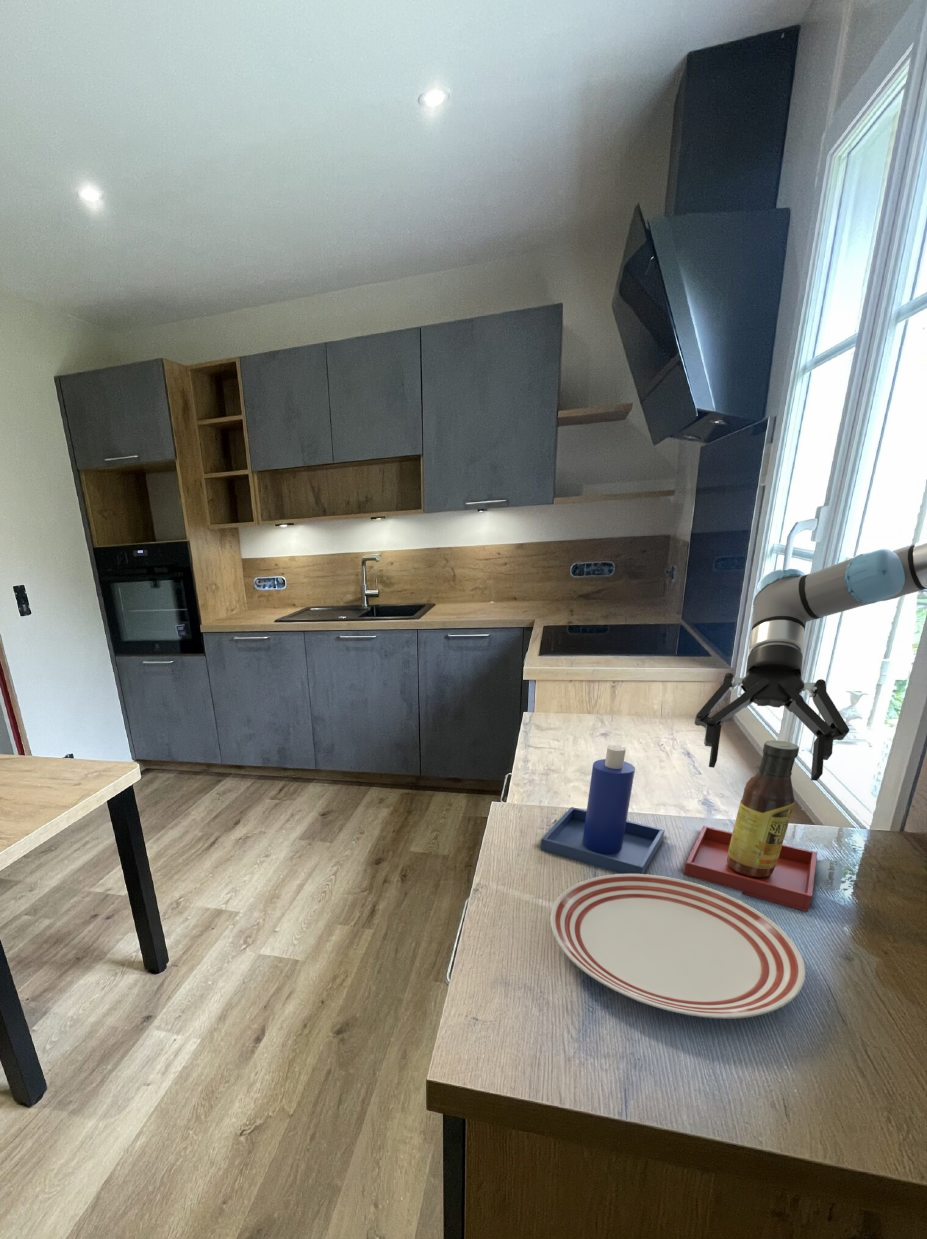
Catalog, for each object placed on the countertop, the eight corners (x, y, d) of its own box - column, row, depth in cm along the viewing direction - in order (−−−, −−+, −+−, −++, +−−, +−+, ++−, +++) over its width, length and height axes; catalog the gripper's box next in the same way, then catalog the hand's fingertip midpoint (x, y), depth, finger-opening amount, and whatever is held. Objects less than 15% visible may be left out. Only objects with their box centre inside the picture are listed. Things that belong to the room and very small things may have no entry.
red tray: (812, 866, 93) (817, 852, 92) (807, 912, 83) (812, 896, 82) (700, 838, 102) (703, 825, 101) (682, 877, 91) (685, 862, 90)
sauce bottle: (764, 885, 88) (800, 756, 80) (717, 868, 92) (747, 745, 85) (780, 868, 92) (816, 744, 84) (735, 853, 96) (764, 734, 89)
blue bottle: (626, 842, 100) (642, 745, 94) (615, 858, 96) (632, 757, 89) (589, 832, 104) (602, 738, 97) (577, 847, 99) (590, 749, 93)
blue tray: (662, 843, 101) (664, 829, 100) (639, 882, 91) (642, 867, 90) (569, 819, 110) (571, 806, 109) (539, 852, 99) (541, 838, 98)
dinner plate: (557, 1016, 67) (560, 992, 66) (542, 881, 92) (544, 862, 90) (847, 1059, 61) (857, 1034, 59) (748, 901, 85) (753, 881, 84)
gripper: (860, 673, 99) (854, 792, 93) (686, 662, 110) (670, 768, 104) (879, 646, 93) (873, 772, 86) (692, 637, 104) (675, 749, 97)
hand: (763, 770), depth 95 cm, fingers open, 13 cm apart
